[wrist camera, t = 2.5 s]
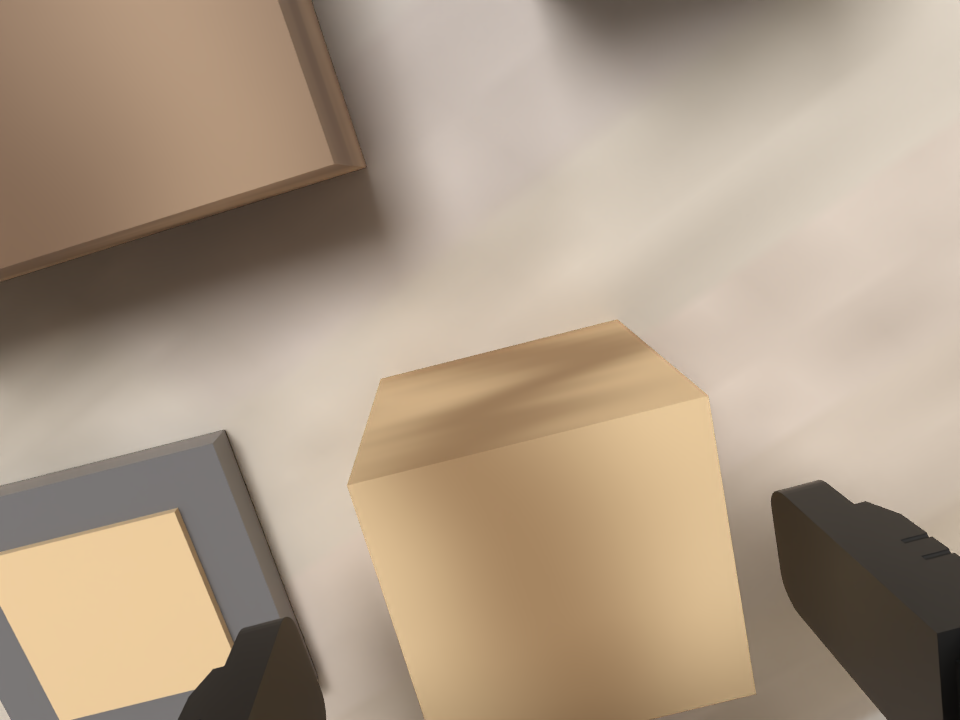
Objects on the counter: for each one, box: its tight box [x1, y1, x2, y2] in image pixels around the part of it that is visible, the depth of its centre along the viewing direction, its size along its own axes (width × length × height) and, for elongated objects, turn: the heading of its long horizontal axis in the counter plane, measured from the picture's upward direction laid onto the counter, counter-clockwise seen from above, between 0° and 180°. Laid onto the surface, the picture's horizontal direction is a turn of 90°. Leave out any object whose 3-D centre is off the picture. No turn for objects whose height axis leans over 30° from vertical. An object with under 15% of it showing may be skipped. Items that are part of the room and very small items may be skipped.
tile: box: [0, 430, 318, 720], centre depth 16 cm, size 7×7×1 cm
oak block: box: [347, 320, 756, 720], centre depth 13 cm, size 6×6×6 cm
